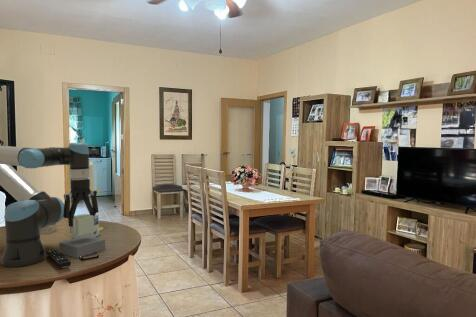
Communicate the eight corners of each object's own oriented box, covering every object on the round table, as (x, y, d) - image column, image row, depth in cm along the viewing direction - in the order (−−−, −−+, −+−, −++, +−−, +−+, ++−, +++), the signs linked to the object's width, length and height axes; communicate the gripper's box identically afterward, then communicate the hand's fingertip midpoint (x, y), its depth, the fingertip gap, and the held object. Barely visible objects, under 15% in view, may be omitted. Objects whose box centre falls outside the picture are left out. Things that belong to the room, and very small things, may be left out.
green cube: (78, 235, 146) (77, 219, 146) (70, 232, 151) (69, 216, 150) (94, 231, 152) (93, 215, 151) (86, 229, 156) (85, 213, 156)
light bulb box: (99, 234, 178) (99, 213, 177) (93, 238, 171) (92, 216, 170) (79, 234, 179) (79, 213, 178) (72, 238, 172) (71, 216, 172)
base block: (77, 259, 143) (77, 247, 143) (59, 253, 150) (59, 242, 150) (105, 250, 154) (104, 239, 154) (87, 245, 161) (86, 235, 161)
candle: (93, 233, 181) (90, 160, 179) (79, 230, 185) (76, 160, 183) (107, 228, 190) (105, 159, 188) (94, 226, 194) (91, 158, 192)
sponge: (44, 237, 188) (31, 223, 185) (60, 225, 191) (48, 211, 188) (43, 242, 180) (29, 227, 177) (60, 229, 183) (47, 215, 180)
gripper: (60, 181, 140) (63, 238, 141) (106, 177, 155) (108, 228, 157) (51, 180, 144) (54, 235, 146) (97, 176, 160) (99, 225, 161)
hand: (82, 231), depth 151 cm, fingers closed on green cube, 7 cm apart
